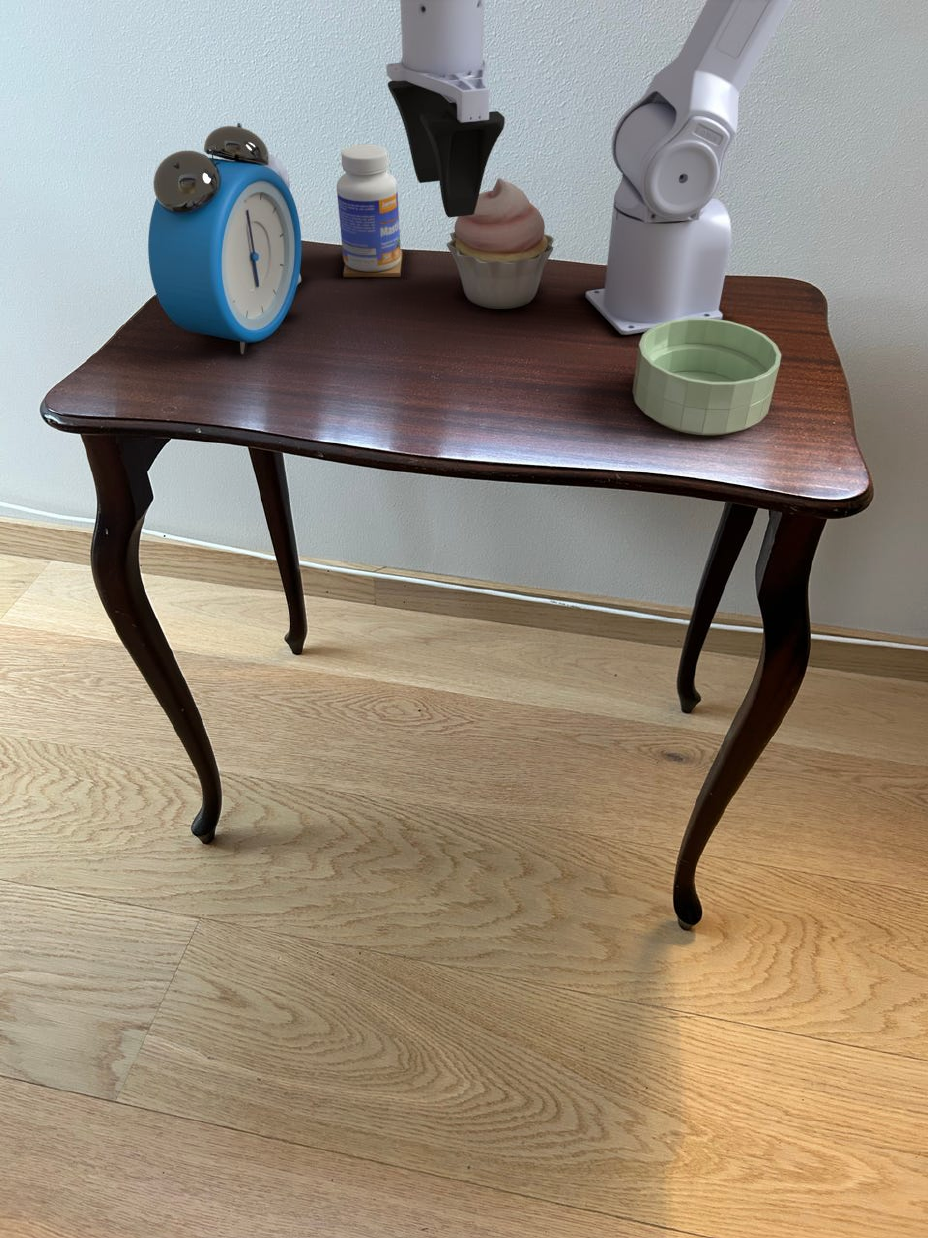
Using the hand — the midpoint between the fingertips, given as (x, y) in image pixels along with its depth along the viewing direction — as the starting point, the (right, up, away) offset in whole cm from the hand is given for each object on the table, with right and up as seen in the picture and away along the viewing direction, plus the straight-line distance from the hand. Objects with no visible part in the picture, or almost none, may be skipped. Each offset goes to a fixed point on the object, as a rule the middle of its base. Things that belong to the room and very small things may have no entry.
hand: (444, 196), depth 74 cm
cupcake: (+5, -4, +11) cm, 13 cm away
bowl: (+19, -17, -3) cm, 25 cm away
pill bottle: (-7, +1, +16) cm, 17 cm away
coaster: (-7, +1, +16) cm, 17 cm away
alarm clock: (-17, -9, +6) cm, 20 cm away
